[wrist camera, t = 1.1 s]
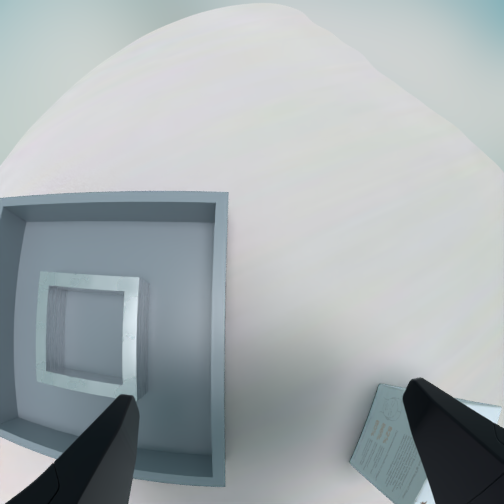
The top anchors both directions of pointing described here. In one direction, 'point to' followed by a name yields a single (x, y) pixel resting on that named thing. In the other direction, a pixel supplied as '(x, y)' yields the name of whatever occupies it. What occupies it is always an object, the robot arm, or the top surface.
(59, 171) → the top surface
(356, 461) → the small box
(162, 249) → the bin
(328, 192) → the top surface
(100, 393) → the socket
